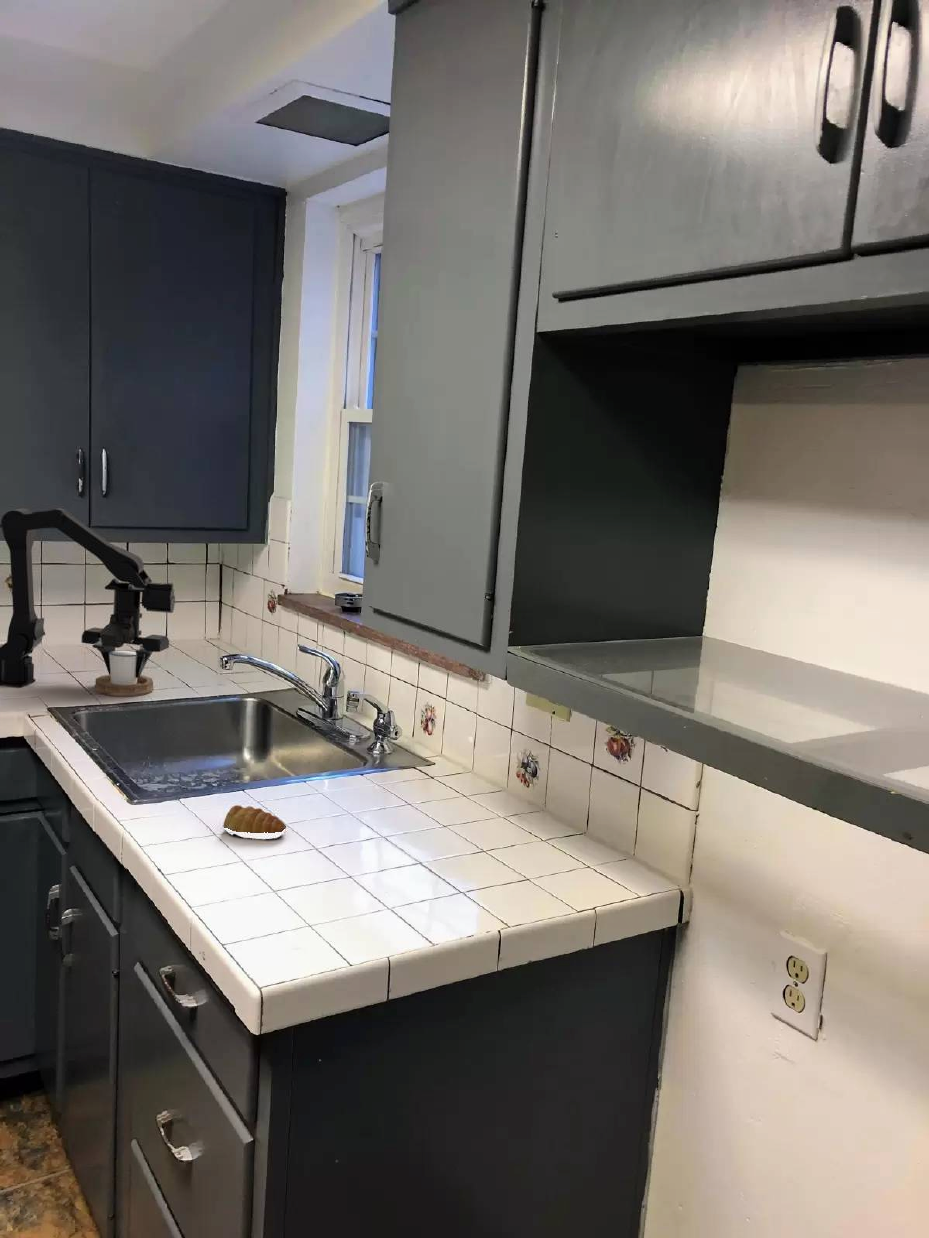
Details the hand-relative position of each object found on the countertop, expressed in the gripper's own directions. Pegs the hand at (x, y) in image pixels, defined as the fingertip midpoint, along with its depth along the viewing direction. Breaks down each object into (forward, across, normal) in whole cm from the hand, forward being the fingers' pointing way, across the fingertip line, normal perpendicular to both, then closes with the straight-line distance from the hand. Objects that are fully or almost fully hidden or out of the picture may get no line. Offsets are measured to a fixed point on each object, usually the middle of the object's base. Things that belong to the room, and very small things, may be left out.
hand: (124, 675), depth 227 cm
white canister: (+2, 0, 0) cm, 2 cm away
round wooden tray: (+3, 0, 0) cm, 3 cm away
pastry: (+4, +54, -70) cm, 88 cm away
